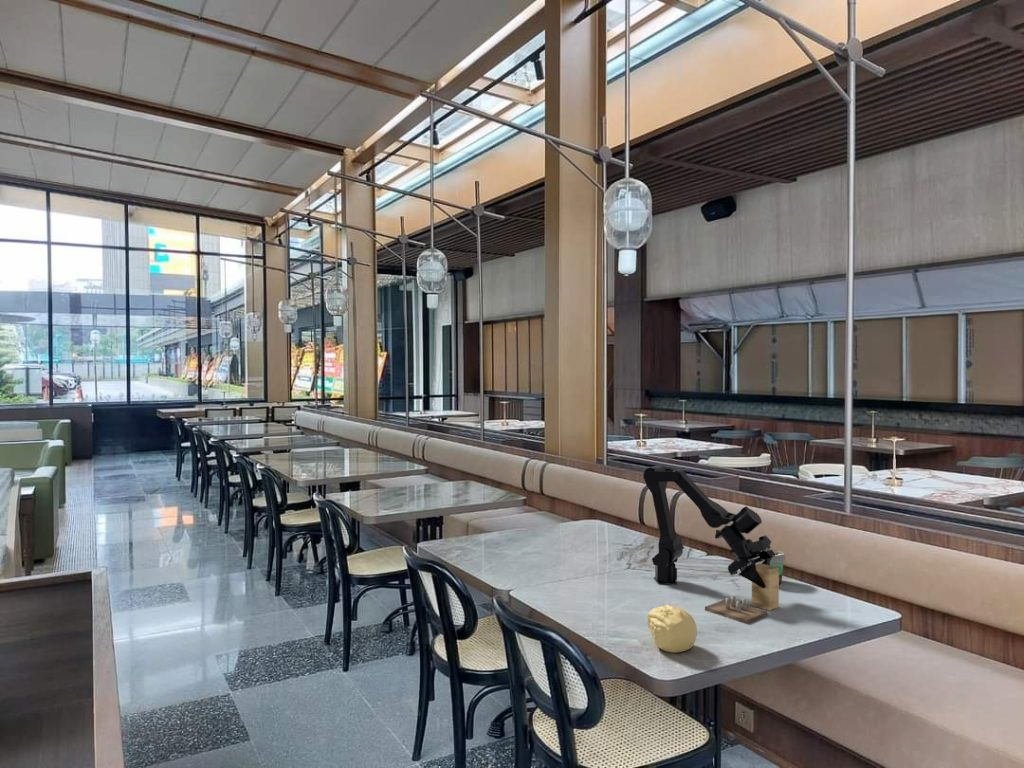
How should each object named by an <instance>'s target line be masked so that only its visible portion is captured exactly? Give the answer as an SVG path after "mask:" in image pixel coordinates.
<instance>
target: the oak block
mask: <svg viewBox="0 0 1024 768" xmlns="http://www.w3.org/2000/svg"><path fill="white" fill-rule="evenodd" d="M756 571H757V572H758V574H759V575H760V577H761V579H762V580H763V582H764V584H765V585H766V587H765V588H762V587H760V586H758V585H757V584H755V583H753V582H752V581H751V606H752V607H755V608H756V607H757V608H758V609H762V610H766V609H767V610H766V611H769V610H770V611H772V609H773V610H775V609H777V608H779V607H780V605H779V603H780V602H779V599H780V593H779V592H780V590H779V589H780V585H779V568H777V567H773V566H769V565H765V564H758V565H756ZM774 608H775V609H774Z"/></svg>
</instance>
